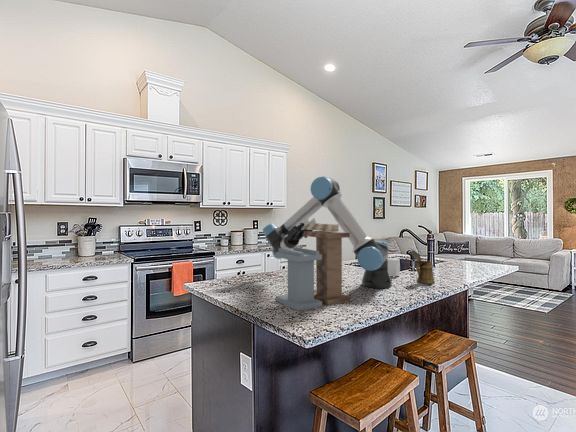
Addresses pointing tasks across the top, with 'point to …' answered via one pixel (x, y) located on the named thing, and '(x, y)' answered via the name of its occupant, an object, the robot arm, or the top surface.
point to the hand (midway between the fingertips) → (311, 220)
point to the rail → (322, 227)
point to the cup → (394, 266)
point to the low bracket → (300, 278)
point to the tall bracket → (329, 266)
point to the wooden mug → (423, 269)
